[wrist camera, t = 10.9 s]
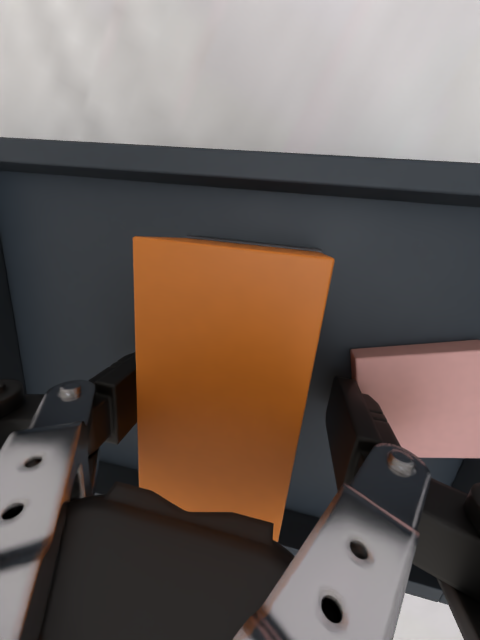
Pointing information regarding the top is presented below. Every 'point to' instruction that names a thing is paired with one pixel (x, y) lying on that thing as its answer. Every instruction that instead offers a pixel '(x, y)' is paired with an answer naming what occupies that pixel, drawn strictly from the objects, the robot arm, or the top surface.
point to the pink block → (426, 394)
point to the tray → (247, 225)
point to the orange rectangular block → (224, 368)
